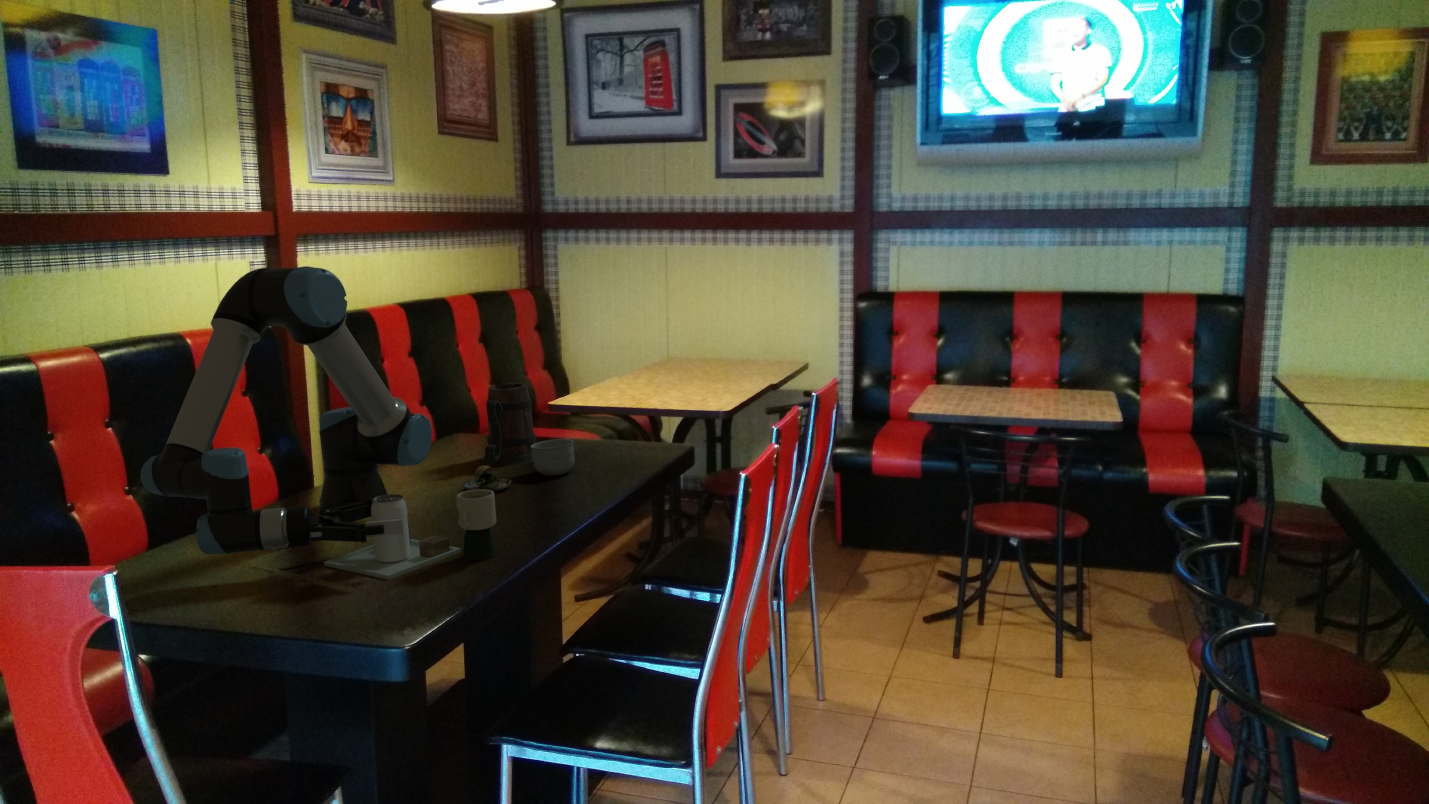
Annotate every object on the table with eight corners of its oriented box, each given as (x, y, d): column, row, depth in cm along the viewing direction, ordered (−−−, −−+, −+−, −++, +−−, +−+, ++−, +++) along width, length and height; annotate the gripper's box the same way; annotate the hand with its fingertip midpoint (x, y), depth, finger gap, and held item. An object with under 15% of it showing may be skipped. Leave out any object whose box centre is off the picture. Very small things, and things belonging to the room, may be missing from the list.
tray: (324, 569, 210) (323, 561, 210) (398, 543, 225) (397, 536, 224) (388, 583, 200) (388, 575, 200) (461, 555, 215) (461, 548, 215)
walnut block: (420, 555, 213) (418, 540, 213) (435, 550, 217) (434, 535, 216) (434, 558, 211) (433, 543, 211) (450, 552, 214) (448, 538, 214)
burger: (478, 499, 258) (475, 468, 257) (453, 491, 267) (451, 461, 266) (522, 489, 266) (520, 459, 265) (497, 481, 275) (495, 452, 274)
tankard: (496, 451, 309) (491, 380, 306) (553, 451, 306) (548, 380, 302) (460, 471, 287) (453, 395, 283) (521, 471, 283) (515, 395, 280)
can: (400, 564, 208) (395, 502, 206) (369, 563, 210) (363, 502, 208) (416, 553, 215) (411, 493, 213) (386, 552, 216) (380, 493, 214)
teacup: (556, 480, 273) (554, 448, 272) (523, 475, 279) (521, 445, 277) (591, 467, 285) (589, 437, 283) (559, 464, 290) (557, 434, 289)
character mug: (476, 549, 218) (471, 486, 216) (509, 551, 217) (504, 487, 214) (449, 567, 208) (444, 500, 206) (484, 569, 206) (479, 501, 204)
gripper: (300, 528, 220) (410, 518, 224) (279, 567, 196) (402, 554, 200) (296, 492, 218) (407, 482, 223) (274, 526, 194) (399, 514, 199)
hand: (405, 516), depth 211 cm, fingers open, 13 cm apart
